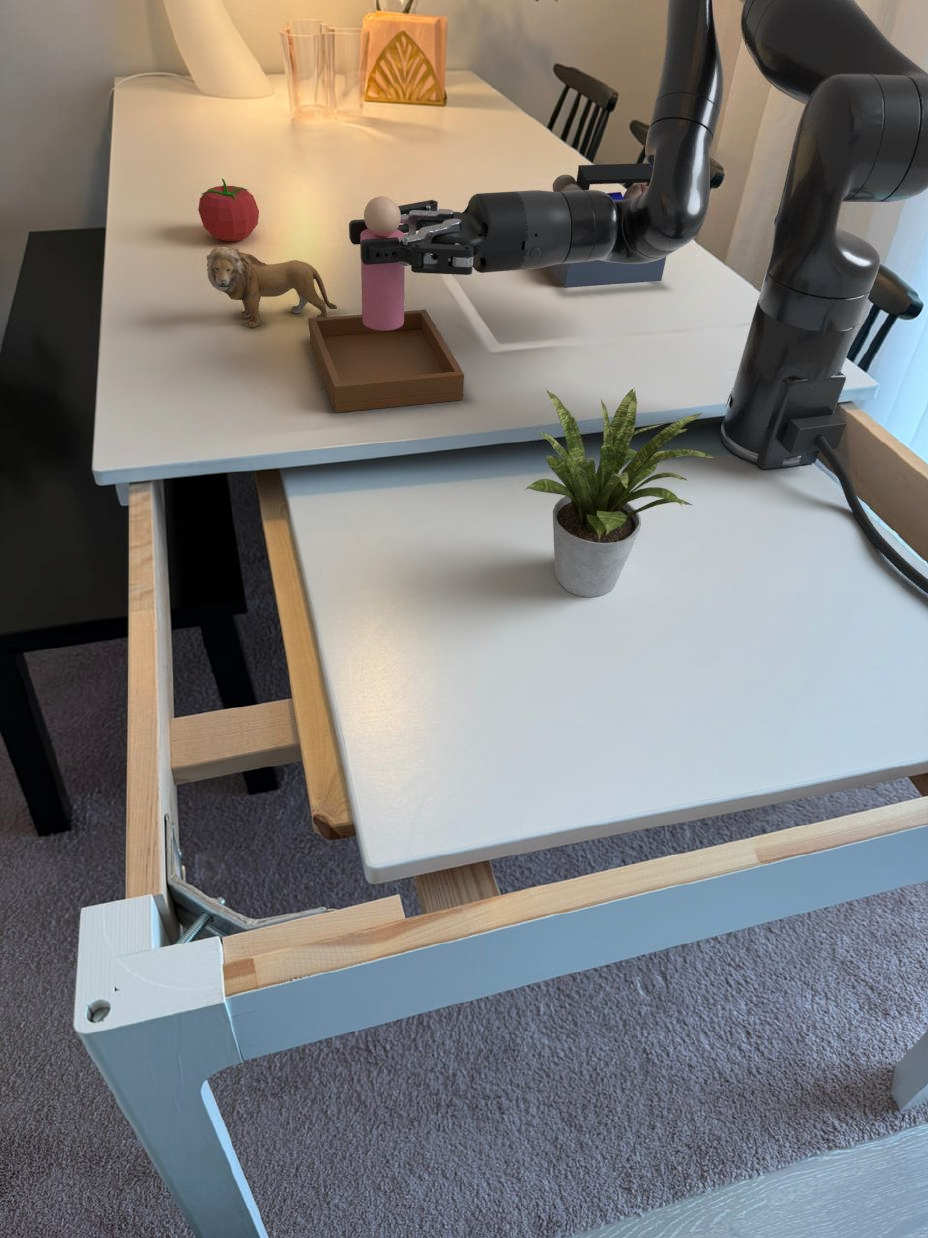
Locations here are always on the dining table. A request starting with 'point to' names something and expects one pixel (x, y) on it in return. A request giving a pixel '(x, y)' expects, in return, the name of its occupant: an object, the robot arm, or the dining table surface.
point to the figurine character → (608, 178)
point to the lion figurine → (263, 281)
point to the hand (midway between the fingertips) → (356, 242)
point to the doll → (382, 270)
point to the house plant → (603, 496)
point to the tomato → (228, 212)
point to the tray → (384, 363)
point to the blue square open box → (607, 273)
